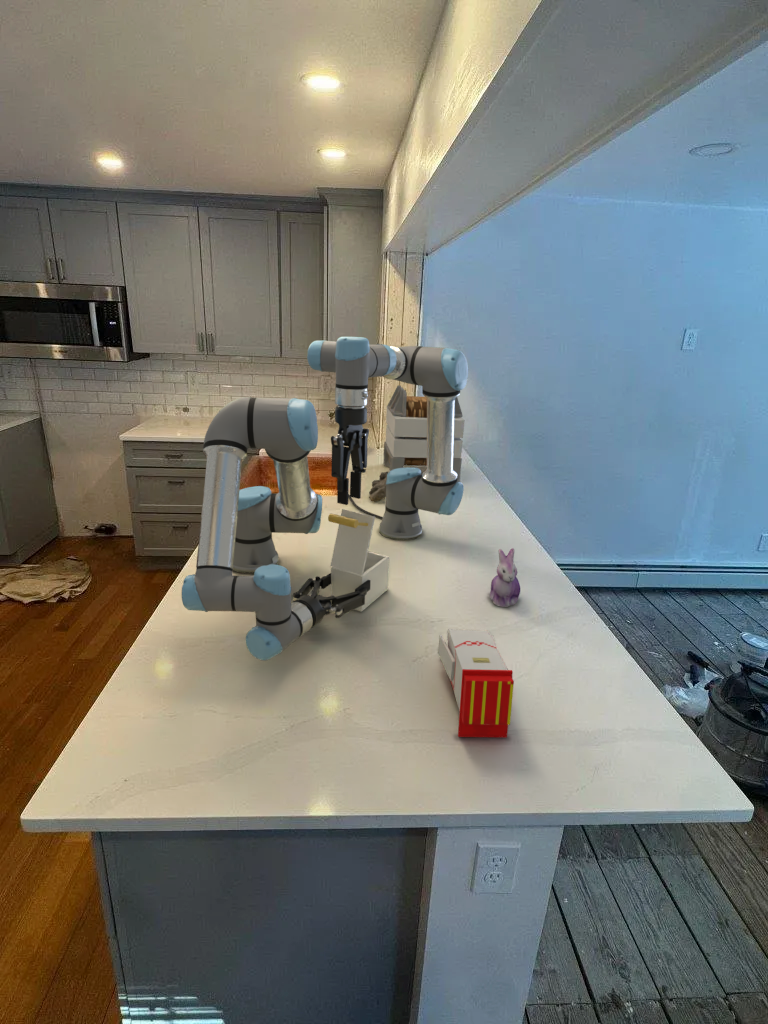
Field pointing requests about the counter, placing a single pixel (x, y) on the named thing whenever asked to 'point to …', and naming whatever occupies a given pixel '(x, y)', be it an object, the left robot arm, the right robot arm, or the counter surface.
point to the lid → (351, 540)
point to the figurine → (505, 581)
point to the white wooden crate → (414, 432)
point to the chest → (363, 579)
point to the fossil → (378, 488)
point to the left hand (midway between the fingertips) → (352, 579)
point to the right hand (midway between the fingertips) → (349, 500)
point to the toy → (478, 682)
